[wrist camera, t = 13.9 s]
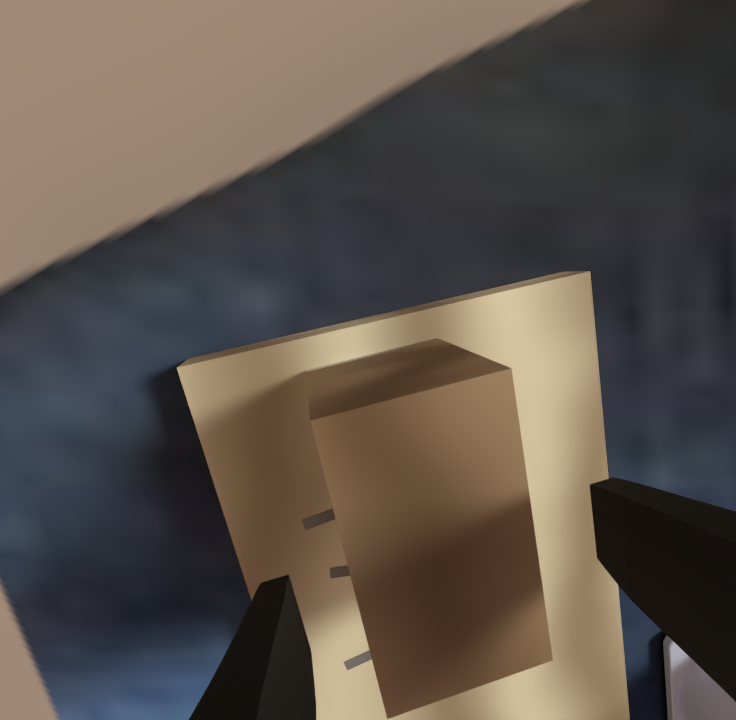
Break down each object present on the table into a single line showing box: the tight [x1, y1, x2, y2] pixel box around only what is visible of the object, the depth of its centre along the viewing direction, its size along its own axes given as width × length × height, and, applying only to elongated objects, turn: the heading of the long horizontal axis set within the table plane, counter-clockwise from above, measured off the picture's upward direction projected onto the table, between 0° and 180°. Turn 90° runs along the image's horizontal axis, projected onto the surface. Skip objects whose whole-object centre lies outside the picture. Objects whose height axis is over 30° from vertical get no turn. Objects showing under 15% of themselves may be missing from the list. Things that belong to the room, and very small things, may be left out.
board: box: [177, 271, 630, 720], centre depth 17 cm, size 14×24×2 cm, turn 12°
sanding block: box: [305, 338, 553, 719], centre depth 12 cm, size 4×8×5 cm, turn 12°
